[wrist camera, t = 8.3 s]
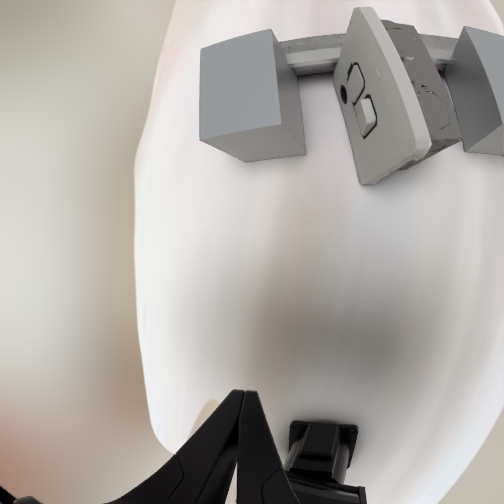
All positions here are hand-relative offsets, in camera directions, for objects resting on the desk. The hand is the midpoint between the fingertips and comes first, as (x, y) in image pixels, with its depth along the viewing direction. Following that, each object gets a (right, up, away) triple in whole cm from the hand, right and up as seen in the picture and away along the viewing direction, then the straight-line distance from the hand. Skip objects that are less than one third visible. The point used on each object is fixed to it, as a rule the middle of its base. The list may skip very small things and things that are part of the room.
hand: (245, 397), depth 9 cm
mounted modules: (+10, +16, +9) cm, 21 cm away
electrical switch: (+10, +15, +9) cm, 20 cm away
